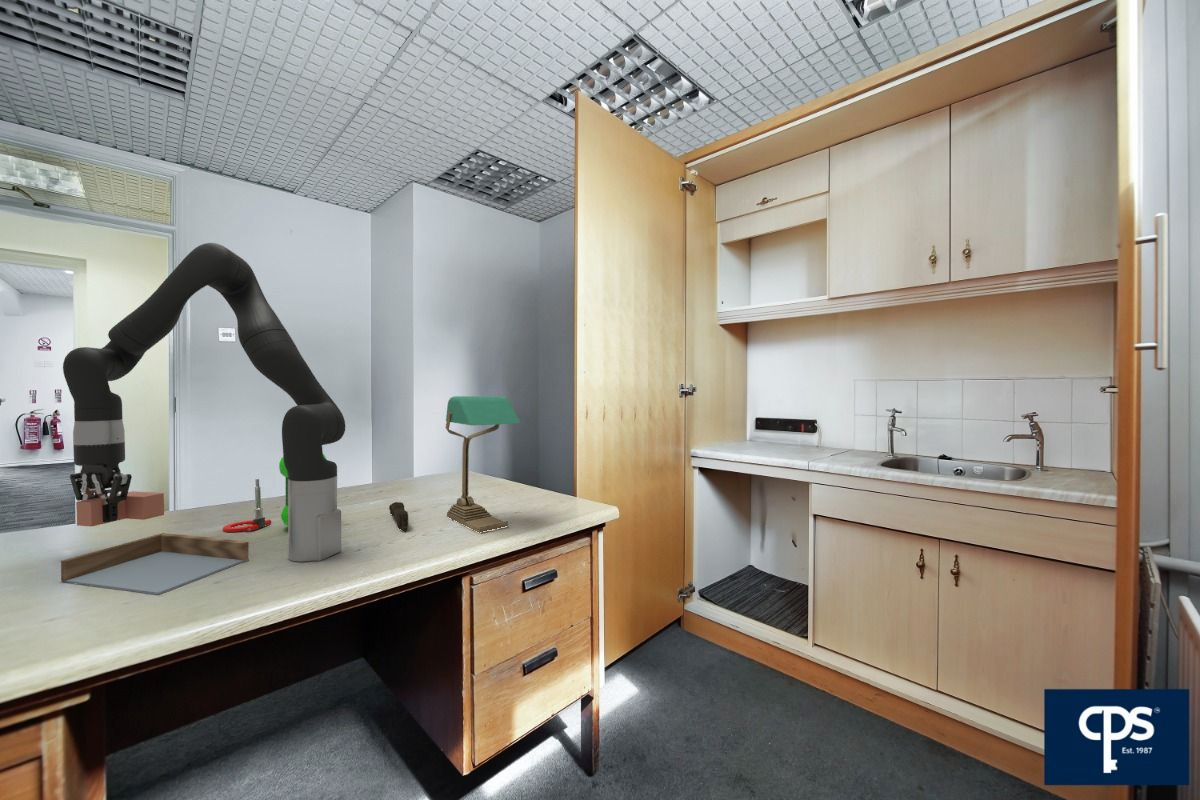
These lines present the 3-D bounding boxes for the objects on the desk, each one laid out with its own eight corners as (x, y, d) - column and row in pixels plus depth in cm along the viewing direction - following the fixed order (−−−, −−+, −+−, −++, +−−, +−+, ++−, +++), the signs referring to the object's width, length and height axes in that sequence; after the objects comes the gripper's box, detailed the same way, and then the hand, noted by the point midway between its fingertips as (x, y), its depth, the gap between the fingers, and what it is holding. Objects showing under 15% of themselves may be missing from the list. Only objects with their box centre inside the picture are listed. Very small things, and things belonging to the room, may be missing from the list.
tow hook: (214, 534, 117) (249, 533, 116) (211, 483, 117) (247, 482, 116) (241, 524, 125) (274, 523, 125) (239, 476, 125) (272, 476, 125)
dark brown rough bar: (389, 515, 134) (389, 500, 134) (404, 514, 136) (404, 498, 136) (393, 535, 118) (392, 517, 117) (410, 533, 119) (409, 515, 119)
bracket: (164, 514, 105) (163, 493, 105) (110, 527, 96) (109, 503, 95) (133, 512, 107) (132, 491, 107) (76, 525, 97) (76, 501, 97)
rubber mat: (248, 560, 99) (248, 558, 99) (158, 594, 82) (158, 592, 82) (163, 550, 103) (163, 548, 103) (61, 581, 87) (61, 579, 87)
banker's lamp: (485, 510, 141) (486, 395, 140) (522, 526, 126) (524, 397, 125) (434, 519, 131) (435, 395, 130) (469, 538, 115) (470, 397, 114)
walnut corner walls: (248, 560, 99) (248, 541, 99) (158, 594, 82) (157, 572, 82) (163, 550, 103) (163, 532, 103) (61, 581, 87) (60, 560, 87)
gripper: (146, 440, 102) (148, 517, 102) (96, 438, 105) (98, 514, 105) (103, 444, 94) (105, 528, 95) (51, 442, 97) (53, 524, 98)
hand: (101, 520), depth 100 cm, fingers closed on bracket, 4 cm apart
